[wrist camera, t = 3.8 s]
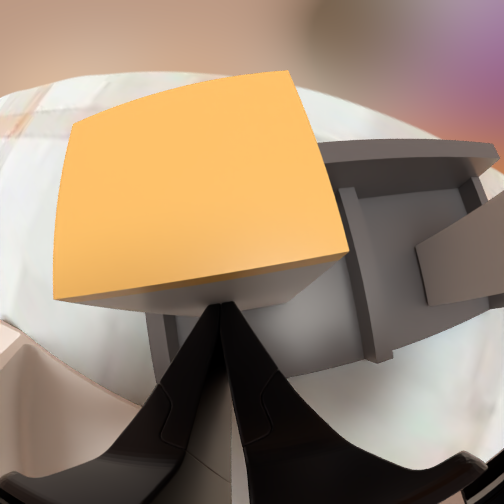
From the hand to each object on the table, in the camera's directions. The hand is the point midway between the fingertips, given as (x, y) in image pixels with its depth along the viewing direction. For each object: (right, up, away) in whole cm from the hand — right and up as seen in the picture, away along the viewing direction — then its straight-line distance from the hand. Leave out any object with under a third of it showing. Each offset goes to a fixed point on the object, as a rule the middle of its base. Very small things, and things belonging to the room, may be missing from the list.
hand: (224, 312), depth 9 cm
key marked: (0, +1, +7) cm, 7 cm away
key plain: (+14, +1, +6) cm, 15 cm away
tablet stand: (-17, -18, +5) cm, 25 cm away
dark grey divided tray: (+7, +1, +8) cm, 11 cm away
